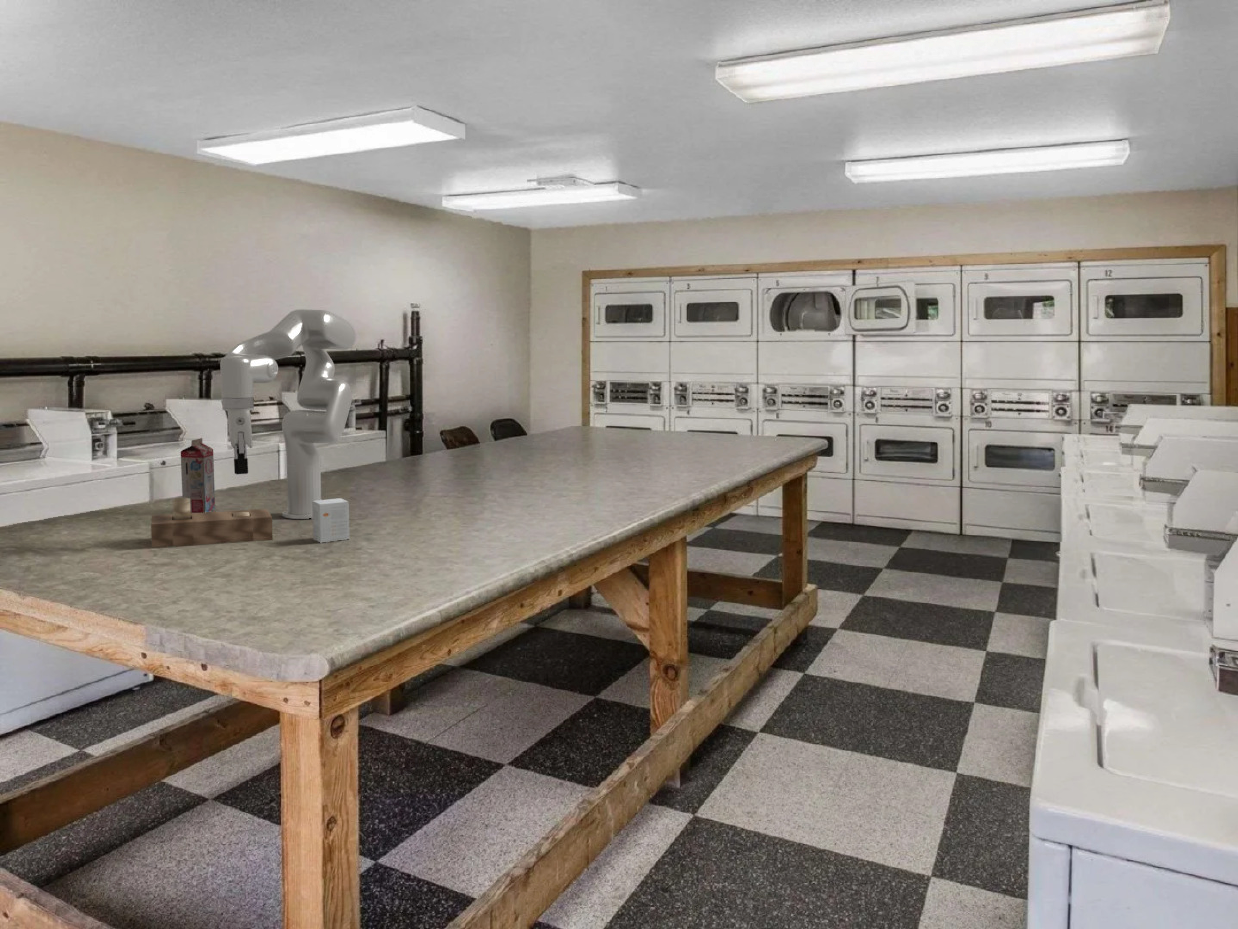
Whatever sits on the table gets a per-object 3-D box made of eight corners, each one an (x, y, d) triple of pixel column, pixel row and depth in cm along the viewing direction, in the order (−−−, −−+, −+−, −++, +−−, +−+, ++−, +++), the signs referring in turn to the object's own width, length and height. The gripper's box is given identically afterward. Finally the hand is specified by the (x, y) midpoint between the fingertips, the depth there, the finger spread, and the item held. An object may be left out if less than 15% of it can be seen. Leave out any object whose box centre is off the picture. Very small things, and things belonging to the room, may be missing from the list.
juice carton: (215, 509, 265) (212, 438, 262) (205, 514, 258) (202, 440, 255) (193, 509, 265) (190, 437, 262) (183, 513, 258) (180, 440, 255)
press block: (267, 530, 239) (267, 509, 238) (272, 539, 229) (272, 517, 228) (152, 538, 226) (151, 515, 225) (151, 548, 216) (150, 524, 215)
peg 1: (190, 519, 226) (189, 497, 225) (191, 522, 223) (190, 499, 222) (173, 520, 224) (172, 498, 224) (173, 523, 221) (172, 500, 220)
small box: (341, 536, 235) (341, 497, 234) (349, 540, 231) (349, 501, 229) (312, 539, 230) (311, 500, 229) (319, 543, 226) (319, 503, 225)
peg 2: (249, 532, 233) (248, 511, 232) (250, 535, 230) (250, 514, 229) (233, 533, 231) (232, 512, 231) (234, 536, 228) (233, 515, 227)
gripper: (256, 406, 221) (259, 477, 224) (251, 401, 234) (254, 468, 237) (224, 407, 218) (227, 479, 221) (220, 401, 231) (224, 469, 234)
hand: (241, 473), depth 229 cm, fingers closed
